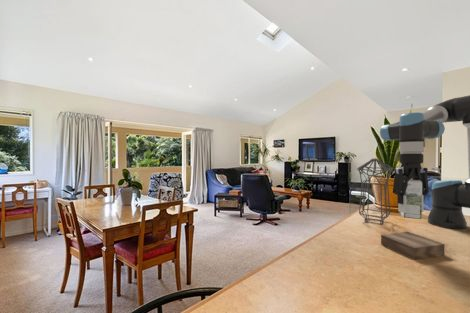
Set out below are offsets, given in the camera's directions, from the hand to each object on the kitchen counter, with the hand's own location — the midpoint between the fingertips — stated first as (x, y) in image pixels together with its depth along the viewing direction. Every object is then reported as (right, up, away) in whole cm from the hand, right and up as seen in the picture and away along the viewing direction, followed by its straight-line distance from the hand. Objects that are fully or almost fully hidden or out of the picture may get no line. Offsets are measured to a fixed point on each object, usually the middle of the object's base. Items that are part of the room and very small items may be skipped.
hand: (410, 211), depth 90 cm
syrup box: (0, -2, 0) cm, 2 cm away
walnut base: (0, -15, 0) cm, 15 cm away
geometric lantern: (+8, -15, +36) cm, 40 cm away
